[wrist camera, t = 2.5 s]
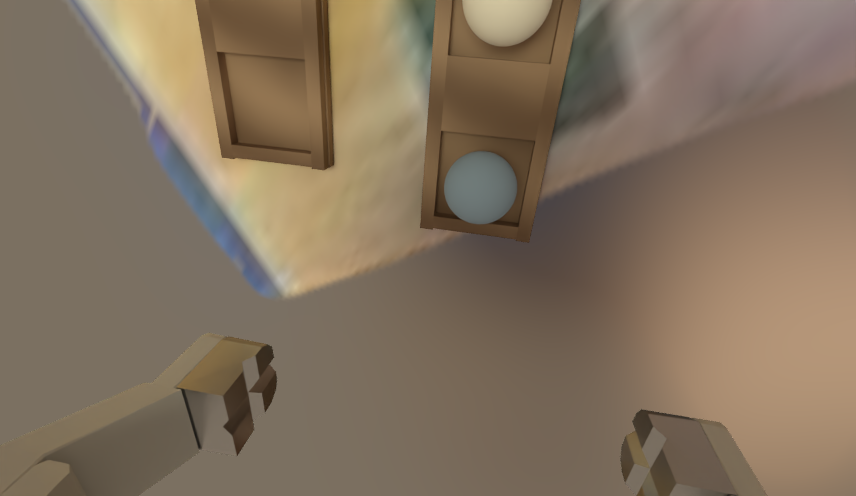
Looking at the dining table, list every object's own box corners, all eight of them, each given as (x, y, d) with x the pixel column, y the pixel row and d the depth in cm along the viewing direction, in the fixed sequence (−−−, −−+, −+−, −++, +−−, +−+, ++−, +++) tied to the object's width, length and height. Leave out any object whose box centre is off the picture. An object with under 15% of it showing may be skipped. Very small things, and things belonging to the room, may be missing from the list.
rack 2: (444, -90, 19) (440, -99, 18) (596, -83, 18) (603, -92, 17) (422, 219, 26) (418, 227, 25) (529, 233, 25) (530, 242, 24)
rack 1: (179, -183, 19) (159, -197, 18) (320, -180, 18) (307, -195, 17) (232, 152, 26) (220, 157, 25) (333, 164, 25) (325, 170, 24)
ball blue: (521, 147, 22) (525, 166, 19) (509, 212, 24) (511, 240, 21) (452, 140, 23) (442, 157, 19) (445, 204, 25) (436, 230, 21)
